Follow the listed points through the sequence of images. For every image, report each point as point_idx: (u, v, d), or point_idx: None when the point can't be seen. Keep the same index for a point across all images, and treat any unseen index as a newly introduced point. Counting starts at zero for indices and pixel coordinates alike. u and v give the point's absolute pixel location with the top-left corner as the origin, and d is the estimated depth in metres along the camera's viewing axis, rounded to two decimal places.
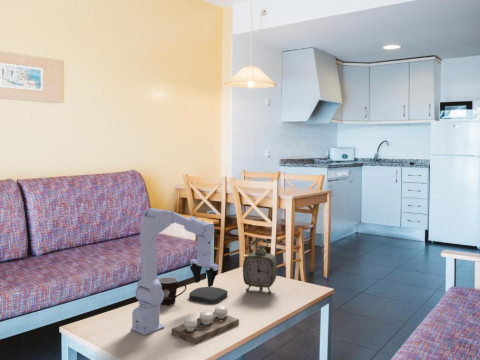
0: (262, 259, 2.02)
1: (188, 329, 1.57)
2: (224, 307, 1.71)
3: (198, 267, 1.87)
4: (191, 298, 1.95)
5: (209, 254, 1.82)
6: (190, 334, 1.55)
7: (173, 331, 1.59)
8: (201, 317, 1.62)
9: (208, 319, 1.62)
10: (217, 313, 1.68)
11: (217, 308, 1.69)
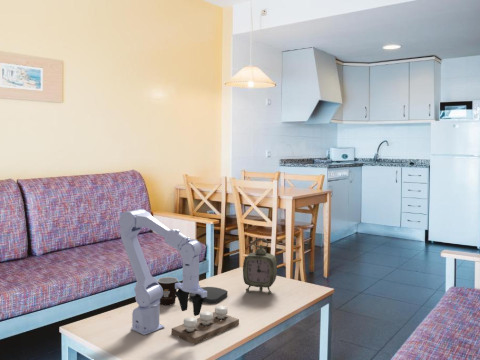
0: (262, 259, 2.02)
1: (188, 329, 1.57)
2: (224, 307, 1.71)
3: (185, 293, 1.59)
4: None
5: (196, 278, 1.55)
6: (190, 334, 1.55)
7: (173, 331, 1.59)
8: (201, 317, 1.62)
9: (208, 319, 1.62)
10: (217, 313, 1.68)
11: (217, 308, 1.69)
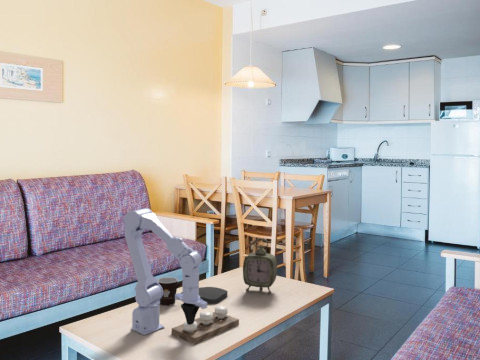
0: (262, 259, 2.02)
1: None
2: (224, 307, 1.71)
3: None
4: None
5: (196, 289, 1.55)
6: (190, 334, 1.55)
7: (173, 331, 1.59)
8: (201, 317, 1.62)
9: (208, 319, 1.62)
10: (217, 313, 1.68)
11: (217, 308, 1.69)
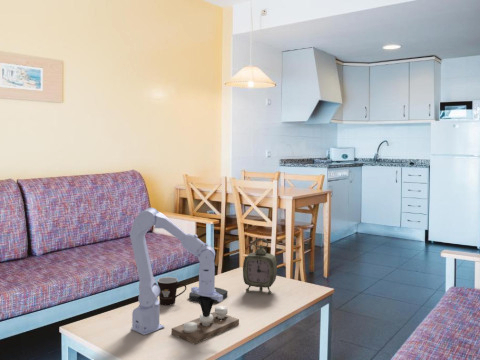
0: (262, 259, 2.02)
1: None
2: (224, 307, 1.71)
3: None
4: (191, 298, 1.95)
5: (212, 282, 1.61)
6: (190, 334, 1.55)
7: (173, 331, 1.59)
8: (201, 319, 1.62)
9: (208, 321, 1.62)
10: (217, 313, 1.68)
11: (217, 308, 1.69)
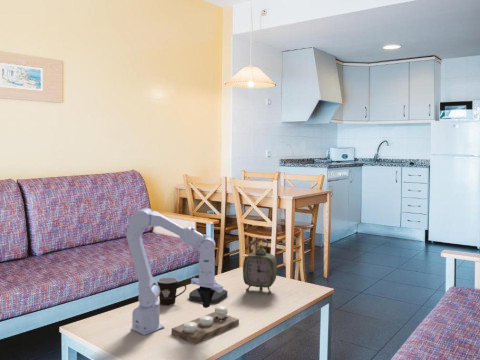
0: (262, 259, 2.02)
1: None
2: (224, 307, 1.71)
3: None
4: (191, 298, 1.95)
5: (212, 273, 1.61)
6: (190, 334, 1.55)
7: (173, 331, 1.59)
8: (201, 322, 1.62)
9: (208, 324, 1.62)
10: (217, 313, 1.68)
11: (217, 308, 1.69)
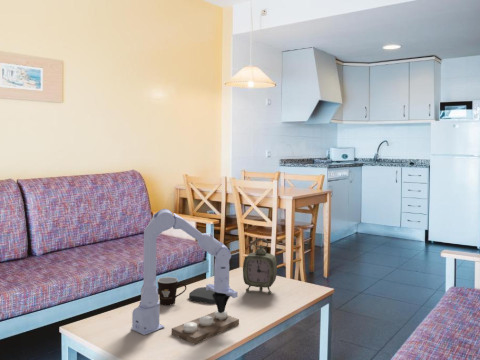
0: (262, 259, 2.02)
1: None
2: (224, 311, 1.71)
3: None
4: (191, 298, 1.95)
5: (227, 279, 1.68)
6: (190, 334, 1.55)
7: (173, 331, 1.59)
8: (201, 322, 1.62)
9: (208, 324, 1.62)
10: (217, 317, 1.68)
11: (217, 312, 1.69)
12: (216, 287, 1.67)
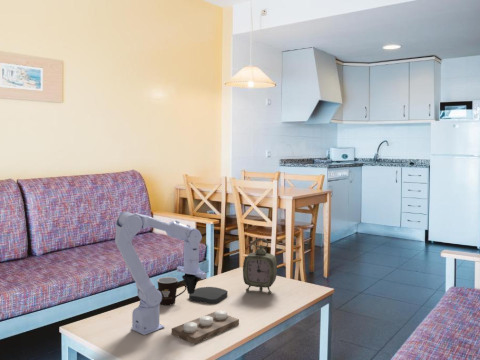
0: (262, 259, 2.02)
1: None
2: (224, 312, 1.71)
3: None
4: (191, 298, 1.95)
5: (196, 261, 1.70)
6: (190, 334, 1.55)
7: (173, 331, 1.59)
8: (201, 322, 1.62)
9: (208, 324, 1.62)
10: (217, 318, 1.68)
11: (217, 313, 1.69)
12: (185, 268, 1.70)
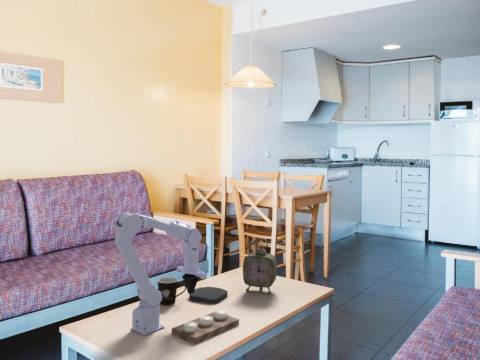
0: (262, 259, 2.02)
1: None
2: (224, 312, 1.71)
3: None
4: (191, 298, 1.95)
5: (196, 261, 1.70)
6: (190, 334, 1.55)
7: (173, 331, 1.59)
8: (201, 322, 1.62)
9: (208, 324, 1.62)
10: (217, 318, 1.68)
11: (217, 313, 1.69)
12: (185, 268, 1.70)
